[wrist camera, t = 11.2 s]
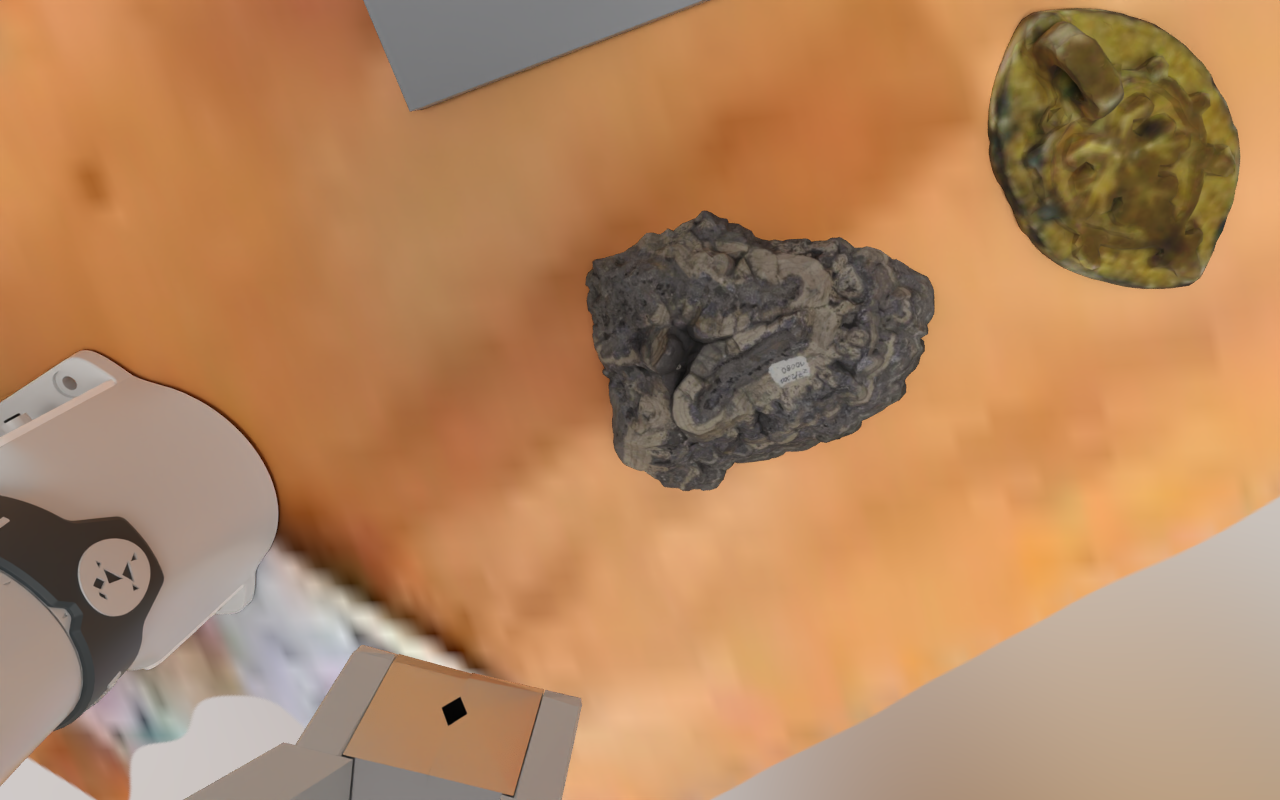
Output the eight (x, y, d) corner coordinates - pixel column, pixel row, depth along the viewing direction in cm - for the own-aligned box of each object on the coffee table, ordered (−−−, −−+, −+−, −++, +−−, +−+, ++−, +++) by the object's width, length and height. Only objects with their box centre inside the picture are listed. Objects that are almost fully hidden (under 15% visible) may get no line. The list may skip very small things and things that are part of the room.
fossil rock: (519, 304, 41) (662, 512, 46) (501, 326, 38) (658, 549, 42) (843, 107, 36) (968, 364, 40) (857, 112, 32) (993, 394, 37)
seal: (1267, 204, 36) (1098, -56, 33) (1353, 215, 32) (1169, -84, 28) (1097, 334, 39) (922, 104, 35) (1156, 361, 34) (962, 102, 31)
